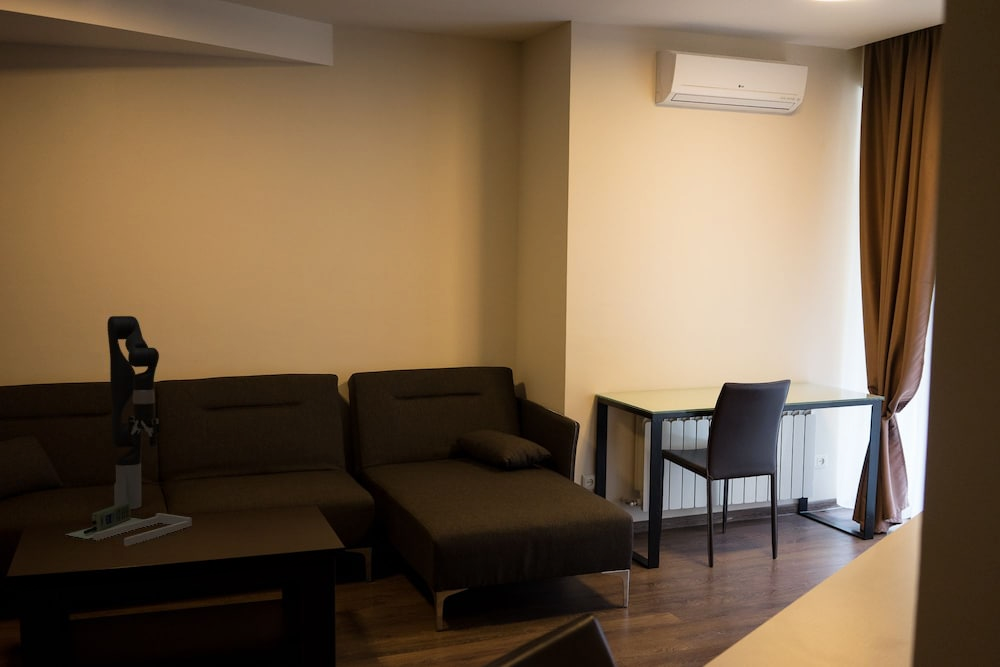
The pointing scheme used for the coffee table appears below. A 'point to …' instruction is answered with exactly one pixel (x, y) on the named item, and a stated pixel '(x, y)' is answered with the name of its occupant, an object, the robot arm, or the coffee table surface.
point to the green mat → (90, 535)
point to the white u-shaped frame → (174, 520)
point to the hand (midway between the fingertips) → (144, 445)
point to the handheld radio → (110, 517)
